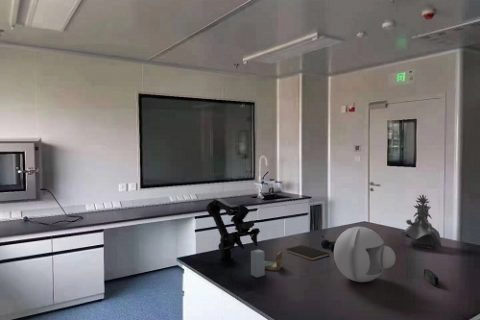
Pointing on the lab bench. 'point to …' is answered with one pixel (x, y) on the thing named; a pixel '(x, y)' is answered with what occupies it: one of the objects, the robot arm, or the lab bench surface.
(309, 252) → the hardcover book
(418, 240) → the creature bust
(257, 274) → the grey tapered block
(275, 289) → the lab bench surface
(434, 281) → the mobile phone
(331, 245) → the headset
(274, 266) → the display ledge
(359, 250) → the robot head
